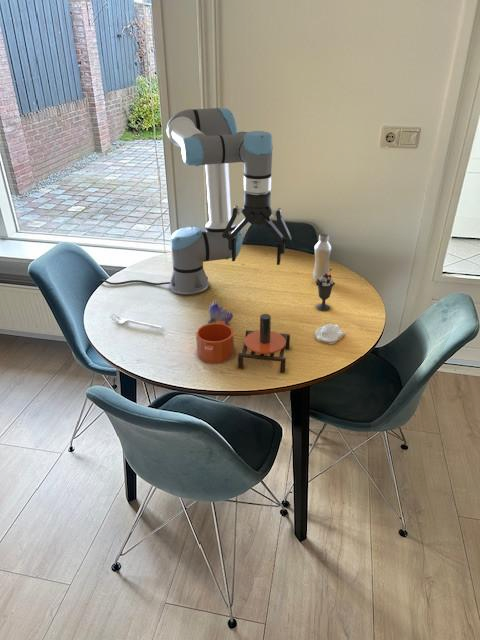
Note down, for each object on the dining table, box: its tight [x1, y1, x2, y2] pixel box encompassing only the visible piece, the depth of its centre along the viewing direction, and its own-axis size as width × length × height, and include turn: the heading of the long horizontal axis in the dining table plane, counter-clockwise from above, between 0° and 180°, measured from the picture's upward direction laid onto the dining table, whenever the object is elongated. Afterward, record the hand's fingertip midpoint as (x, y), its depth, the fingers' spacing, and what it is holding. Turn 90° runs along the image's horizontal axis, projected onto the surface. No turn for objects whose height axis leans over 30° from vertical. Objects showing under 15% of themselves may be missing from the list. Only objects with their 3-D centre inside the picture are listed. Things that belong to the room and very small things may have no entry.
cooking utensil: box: [109, 313, 163, 330], centre depth 165 cm, size 3×20×2 cm, turn 70°
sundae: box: [315, 268, 336, 312], centre depth 171 cm, size 7×7×15 cm
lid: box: [244, 313, 286, 355], centre depth 143 cm, size 12×12×10 cm
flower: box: [207, 299, 234, 326], centre depth 163 cm, size 9×9×10 cm
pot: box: [195, 321, 235, 364], centre depth 148 cm, size 11×17×8 cm
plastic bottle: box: [311, 233, 332, 284], centre depth 188 cm, size 6×7×20 cm
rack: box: [237, 329, 291, 374], centre depth 146 cm, size 14×14×5 cm
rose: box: [314, 323, 346, 345], centre depth 156 cm, size 10×4×10 cm
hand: (256, 261), depth 144 cm, fingers open, 13 cm apart
